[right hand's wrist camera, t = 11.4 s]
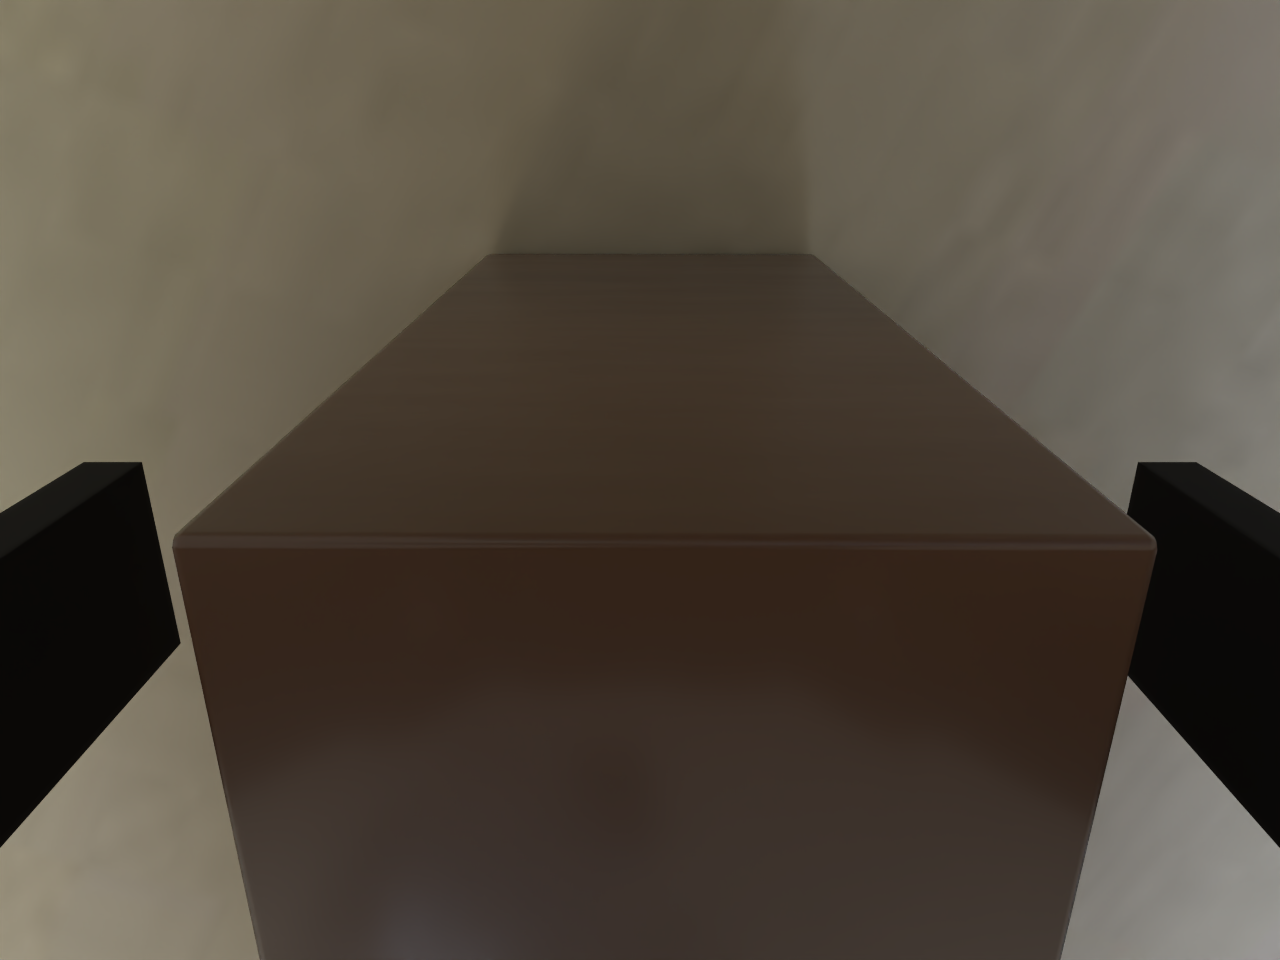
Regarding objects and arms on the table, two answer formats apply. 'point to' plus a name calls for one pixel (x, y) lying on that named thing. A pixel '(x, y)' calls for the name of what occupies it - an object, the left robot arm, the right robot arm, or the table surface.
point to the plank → (661, 635)
